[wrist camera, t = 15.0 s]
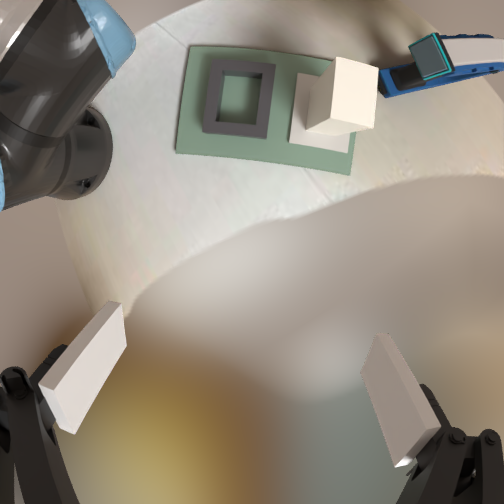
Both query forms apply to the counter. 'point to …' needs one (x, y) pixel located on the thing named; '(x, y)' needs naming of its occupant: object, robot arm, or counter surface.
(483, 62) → the handheld scanner
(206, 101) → the green socket board
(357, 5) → the counter surface
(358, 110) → the plug
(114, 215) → the counter surface
